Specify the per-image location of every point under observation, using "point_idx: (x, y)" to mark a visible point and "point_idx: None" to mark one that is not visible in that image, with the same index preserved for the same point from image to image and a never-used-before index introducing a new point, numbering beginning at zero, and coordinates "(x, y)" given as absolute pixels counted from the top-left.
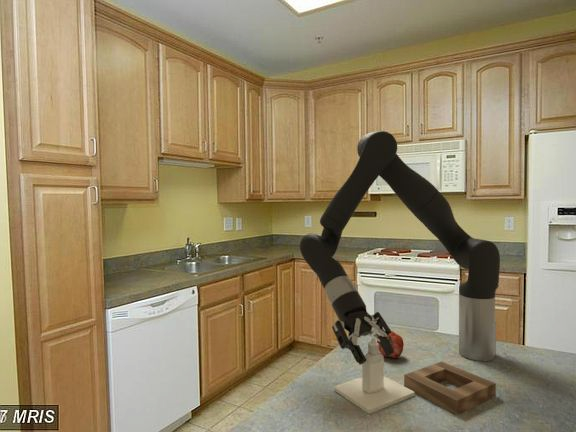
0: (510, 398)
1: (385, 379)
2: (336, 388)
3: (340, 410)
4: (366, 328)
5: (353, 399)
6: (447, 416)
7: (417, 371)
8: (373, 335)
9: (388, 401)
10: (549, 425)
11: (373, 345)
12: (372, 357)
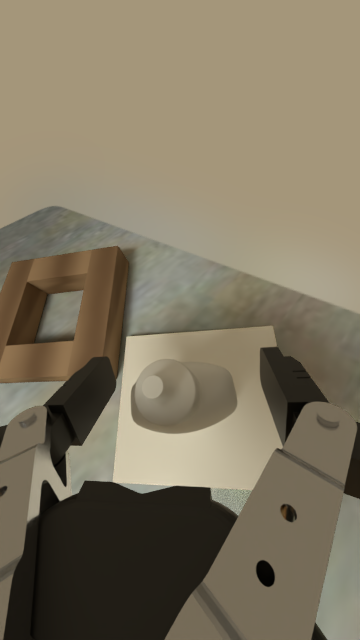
0: None
1: (130, 425)
2: None
3: (334, 373)
4: (103, 527)
5: None
6: (144, 265)
7: (59, 369)
8: (67, 493)
9: (206, 333)
10: (64, 211)
11: (183, 367)
12: (204, 369)
